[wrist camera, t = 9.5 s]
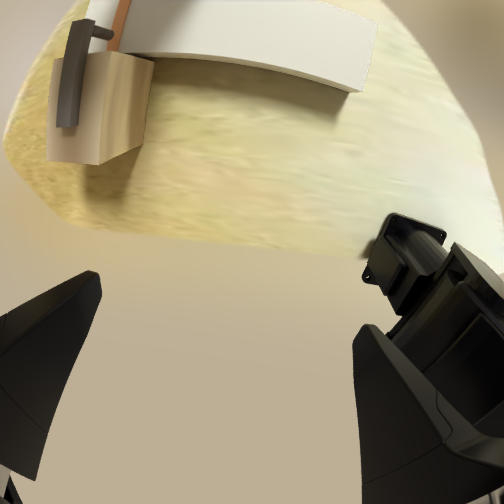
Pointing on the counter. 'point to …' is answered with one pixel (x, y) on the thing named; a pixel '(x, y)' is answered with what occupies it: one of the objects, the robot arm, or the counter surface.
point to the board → (244, 35)
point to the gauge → (95, 100)
